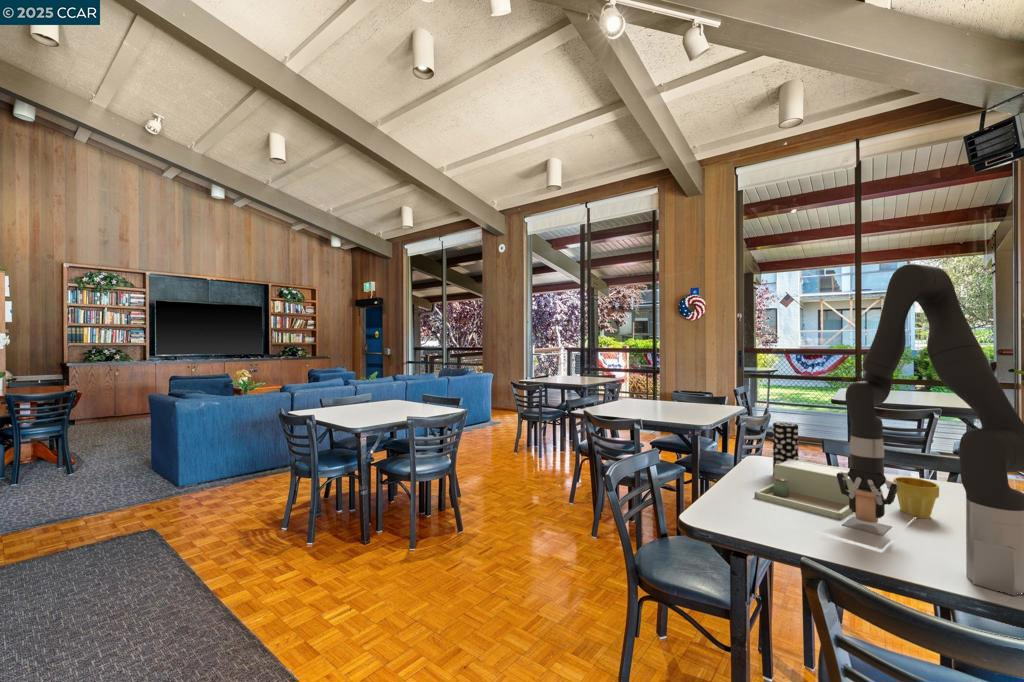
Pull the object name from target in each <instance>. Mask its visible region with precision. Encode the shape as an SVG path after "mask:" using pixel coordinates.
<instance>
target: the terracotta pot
mask: <svg viewBox="0 0 1024 682" xmlns="http://www.w3.org/2000/svg"><path fill="white" fill-rule="evenodd" d="M878 492H880V491H878ZM854 493H855V512H854V513H855V515H854V517H856V518H857V519H858V520H861V521H864V522H870V523H879V518H877V517H876V504H878V503H877V501H876V498H875V497H877V496H875V493H872V491H868V490H863V489H859V488H858V489H854Z"/></svg>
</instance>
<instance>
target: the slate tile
mask: <svg viewBox="0 0 1024 682" xmlns="http://www.w3.org/2000/svg"><path fill="white" fill-rule="evenodd" d="M841 526H843V527H847V528H851V529H854V530H858V531H861V532H866V533H869V534H872V535H873V534H874V535H877V536H881V537H883V536H884V535H885V534H886V533H887V532H888V531H889V530H891V529H892V527H893V526H891V525H888V524H883V523H879V522H876V523H870V522H864V521H861V520H858V519H857V518H856V517H855V516H851V517H850V518H848V519H847V520H846V521H844V523H842V524H841Z"/></svg>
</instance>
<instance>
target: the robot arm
mask: <svg viewBox="0 0 1024 682" xmlns="http://www.w3.org/2000/svg"><path fill="white" fill-rule="evenodd" d="M887 285H888V286H887V288H886V293H885V297H884V301H883V304H882V309H881V314H880V317H879V321H878V326H877V329H876V333H875V335H874V337H873V340H872V343H871V345H870V347H869V349H868V352H867V354H866V356H865V358H864V360H863V364H862V369H863V370H864V371H865V373H864V377H863V380H862V381H854V382H852V383H850V384H849V385H848V387H847V388H846V391H845V396H844V397H845V403H846V405H845V406H846V408H847V412H848V414H849V417H850V438H849V439H850V440H849V469H848V470H849V472H848V473H843V472H839V473H837V479H838V482H839V486H840V490H841V493H842V494H843V495H846V496H848V497H849V508H850V509H852V512H853V513H855V493H854V489H858V488H859V489H863V490H868V491H872V493H875V496H877V497H875V498H876V501H877V503H878V504H876V517H877V518H878V519H881V518H883V517H884V516H885V513H886V512H885V510H886V509H885V505H889V506H891V505H892V503H894V502H895V499H896V496H897V490H898V486H899V484H898V483H897V482H893V481H892V480H889V479H887V477H886V475H885V448H884V447H885V446H884V438H883V436H884V435H883V433H884V431H883V430H884V428H883V427H884V424H883V420H882V418H880V417H879V416H878V415H877V414H876V408H875V406H880V405H882V404H883V403H884V402H885V401H886V400H887V399H888V398H889V395H890V393H891V389H892V384H893V381H894V374H895V371H896V370H897V367H898V365H899V364H900V362H901V359H902V358H903V355H904V353H905V350H906V349H905V348H906V342H907V341H906V336H907V335H906V323H907V317H908V314H909V313H910V310H911V308H912V307H913V305H914V303H915V302H916V303H918V305H919V306H920V308H921V310H922V311H923V313H924V315H925V317H926V319H927V322H928V327H929V328H928V337H927V343H926V349H927V350H926V352H927V355H928V358H929V360H930V362H931V365H932V367H933V369H934V371H935V373H936V375H937V377H938V378H939V380H940V381H941V382H942V383H943V384H944V385H945V386H946V387H947V389H949V390H950V391H951V392H952V393H953V394H955V395H956V396H957V397H959V399H961V400H962V401H963V402H964V403H965V404H966V405H968V407H970V409H972V411H973V412H974V413H975V415H976V416H977V417H978V420H979V422H980V424H981V425H982V427H981V428H973V429H972V428H971V429H969V430H967V431H965V432H964V433H963V434H962V436H961V438H960V440H959V446H958V457H959V471H960V480H961V484H962V487H963V488H964V491H965V508H966V509H965V539H966V541H965V544H966V545H965V553H966V555H965V561H966V562H965V566H966V567H965V569H966V572H965V575H966V577H967V578H968V579H969V580H970V581H971V580H972V581H971V582H972V584H973V585H976V586H980V587H982V588H986V589H990V590H992V591H996V592H997V591H998V592H999V591H1000V593H1003V592H1005V593H1004V594H1006V593H1008V594H1007V595H1010V594H1012V595H1011V596H1013V595H1016V596H1017V595H1024V594H1023V593H1024V492H1022V491H1020V490H1018V489H1015V488H1012V487H1011V486H1010V484H1009V477H1008V473H1021V472H1022V473H1023V472H1024V422H1023V420H1022V419H1021V417H1020V416H1019V414H1018V412H1017V411H1016V410H1015V408H1014V407H1013V405H1012V403H1011V402H1010V400H1009V399H1008V397H1007V395H1006V393H1005V391H1004V390H1003V388H1002V386H1001V383H1000V382H999V381H998V379H997V376H996V375H995V373H994V371H993V369H992V367H991V364H990V363H989V360H988V357H987V356H986V354H985V352H984V350H983V348H982V346H981V345H980V343H979V341H978V339H977V338H976V336H975V333H974V331H973V329H972V327H971V325H970V324H969V321H968V320H967V317H966V316H965V314H964V312H963V310H962V307H961V304H960V301H959V299H958V295H957V293H956V290H955V287H954V284H953V280H952V279H951V277H950V276H949V274H948V273H947V272H946V271H945V270H944V269H942V268H940V267H936V266H932V265H925V264H919V263H906V264H903V265H902V266H901V265H900V267H898V268H897V269H896V270H895V271H894V272H893V273H892V275H891V276H890V279H889V282H888V284H887ZM848 476H849V478H850V479H851V480H852V482H853V483H854V485H853V487H852V489H851V491H849V489H848V486H847V482H846V480H847V479H848ZM884 484H885V485H886V488H887V490H888V492H887V496H886V498H885V497H884V495H883V491H882V488H881V487H882V486H883V485H884ZM878 491H880V492H878ZM852 512H851V513H852ZM1017 593H1018V594H1017ZM1021 593H1022V594H1021Z"/></svg>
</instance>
